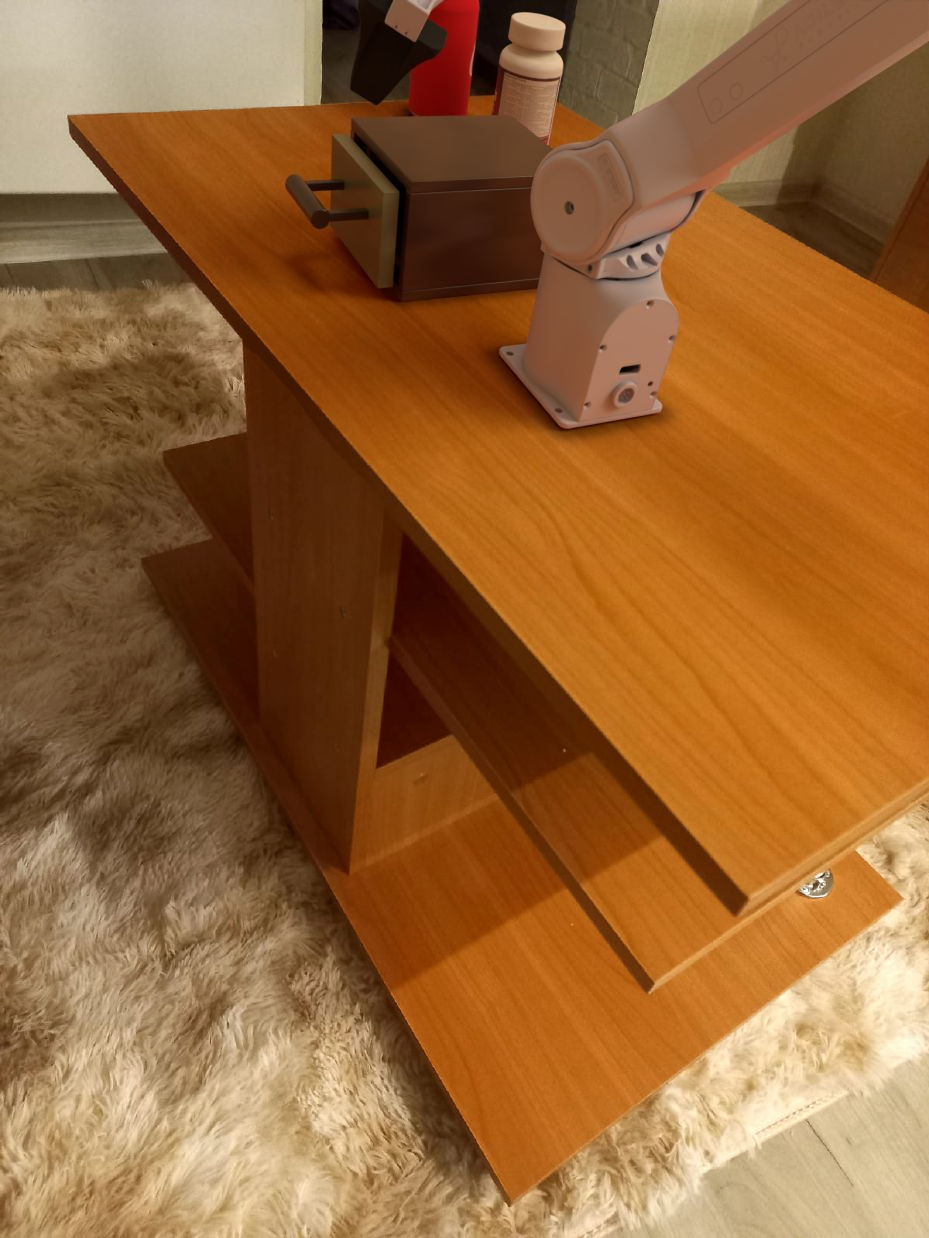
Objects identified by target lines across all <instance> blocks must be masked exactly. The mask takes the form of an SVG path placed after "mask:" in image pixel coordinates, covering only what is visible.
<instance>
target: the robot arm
mask: <svg viewBox="0 0 929 1238" xmlns="http://www.w3.org/2000/svg"><path fill="white" fill-rule="evenodd" d="M442 1H443V0H357V10H358V11H357V12H358V18H359V37H358V44H357V48H356V54H355V57H354V61H353V66H352V69H351V74H350V81H349V89H350V91H351V92H353V93H354V94H356V95H358V96H360V97H361V98H363V99H364V100H366V101H367V102H369V103H370V104H372V105H374V106H378V105H379V104H381V103H382V102H383V101H384V100H385V99H386V98H387V97H388V96H389V94H391V93H392V91H393V90H394V89H395V88H396V87H397V85H398V84H399V83H400V82H401V81H402V80H403V79H404V78H405V77H406V76H407V75H408V74H409V73H411V70H412V69H414V68H415V67H416V66H418V65H420V64H421V63H423V62H425V61H427V60H430V59H433V58H435V57H436V56H437V55H438V54H439V53H440V52H441V51H442V49H443V48H444V45H445V42H446V38H447V35H448V31H446V30H445V29H443V28H442V27H440V26H439V25H437V24H436V23H434V22H433V21H431V20H430V19H428V16H429V14H430V12H431V11H432V10H433V9H434V8H435V7H436V6H437V5H438V4H440V3H441V2H442ZM928 42H929V0H788V1H787V2H786V3H784V4H783V5H782V6H780V7H779V8H777V9H776V10H775V11H774V12H773V13H771V14H770V15H769V16H768V17H766V18H765V19H763V21H761V22H760V23H758V24H757V25H756V26H755V27H753V28H752V29H751V30H750V31H748V32H747V33H746V34H745V35H743V36H742V37H741V38H740V39H738V40H737V41H736V42H734V43H733V44H732V45H731V46H729V47H728V48H726V50H724V51H723V52H722V53H720V54H719V55H717V57H715V58H714V59H713V60H711V61H710V62H709V63H708V64H707V65H705V66H704V67H703V68H701V69H700V70H699V71H698V72H696V73H695V74H694V75H692V76H691V77H690V78H688V79H687V80H686V81H684V82H683V83H682V84H681V85H679V86H678V87H677V88H676V89H674V90H673V91H672V92H671V93H669V94H668V95H667V96H665V97H663V98H662V99H659V100H658V101H656V102H654V103H653V104H651V105H649V106H646V107H645V108H643V109H641V110H638V111H637V112H635V113H633V114H630V115H629V116H627V117H625V118H624V119H622V120H620V121H617V122H616V123H613V124H612V125H611V126H609V127H607V128H606V129H605V130H604V131H603V132H601V133H600V134H599V135H598V136H596V137H594V138H593V139H591V140H588V141H576V142H568V143H565V144H561V145H559V146H557V147H555V148H552V149H553V150H552V151H551V152H550V153H548V154H547V155H546V156H545V158H544V159H543V160H542V161H541V163H540V165H539V166H538V168H537V170H536V173H535V176H534V179H533V183H532V188H531V212H532V218H533V222H534V226H535V228H536V231H537V234H538V235H539V237H540V239H541V241H542V244H541V250H542V251H543V252H545V253H544V258H543V263H542V268H541V273H540V278H539V283H538V288H536V294H535V298H534V303H533V309H532V313H531V319H530V323H529V328H528V333H527V338H526V343H519V344H511V345H510V344H509V345H504V346H501V347H500V348H499V350H498V355H499V356H500V358H501V359H502V360H503V361H504V362H505V363H506V365H507V366H508V367H509V368H510V370H511V371H512V372H513V373H514V374H515V375H516V377H517V378H518V379H519V380H520V381H521V383H522V384H523V385H524V386H525V387H526V389H528V391H529V392H530V393H531V394H532V396H533V397H534V398H535V399H536V400H537V402H539V404H540V405H541V407H543V409H544V410H545V411H546V412H547V413H548V414H549V416H550V417H551V419H553V420H554V422H555V423H556V424H557V425H558V426H559V428H562V429H574V428H580V427H585V426H590V425H596V424H602V423H607V422H613V421H619V420H625V419H630V418H631V419H632V418H637V417H642V416H648V415H653V414H659V413H661V412H662V410H663V404H662V402H661V401H660V400H659V399H658V398H657V396H658V393H659V390H660V388H661V385H662V382H663V378H664V376H665V373H666V370H667V367H668V364H669V361H670V358H671V355H672V352H673V349H674V346H675V343H676V341H677V337H678V333H679V328H680V327H679V326H680V319H679V315H678V310H677V308H676V307H675V305H674V303H673V302H672V301H671V299H670V298H669V296H668V294H667V292H666V291H665V288H664V283H663V281H662V263H663V260H664V257H665V253H666V252H667V250H668V247H669V243H670V241H671V237H672V234H673V232H675V231H678V230H679V229H681V228H682V227H684V226H686V224H687V223H689V221H690V220H692V218H693V217H694V215H695V214H696V213H697V211H698V209H699V208H700V206H701V204H702V202H703V201H704V199H705V198H706V196H707V195H708V194H709V193H710V192H711V191H712V190H713V189H715V188H716V187H717V186H719V185H720V184H722V183H724V182H725V181H727V180H728V179H730V177H731V175H732V169H733V168H735V167H736V166H738V165H739V164H741V163H742V162H744V161H746V160H747V159H749V158H750V157H752V156H754V155H755V154H756V153H759V152H760V151H761V150H763V149H764V148H766V147H767V146H769V145H770V144H772V143H773V142H775V141H777V140H778V139H779V138H781V137H782V136H784V135H786V134H787V133H789V132H790V131H792V130H793V129H795V128H797V127H798V126H799V125H802V124H803V123H804V122H806V121H808V120H809V119H810V118H813V116H815V115H817V114H818V113H820V112H821V111H823V110H824V109H826V108H828V107H829V106H831V105H832V104H834V103H836V102H837V101H839V100H840V99H842V98H843V97H844V96H846V95H848V94H849V93H851V92H852V91H854V90H855V89H857V88H859V87H860V86H861V85H863V84H865V83H866V82H869V80H871V79H873V78H874V77H875V76H877V75H879V74H880V73H882V72H883V71H885V70H886V69H888V68H889V67H891V66H893V65H895V64H896V63H898V62H899V61H900V60H902V59H904V58H905V57H906V56H908V55H910V54H911V53H913V52H915V51H916V50H918V49H919V48H920V47H922V46H924V45H925V44H927V43H928Z"/></svg>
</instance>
